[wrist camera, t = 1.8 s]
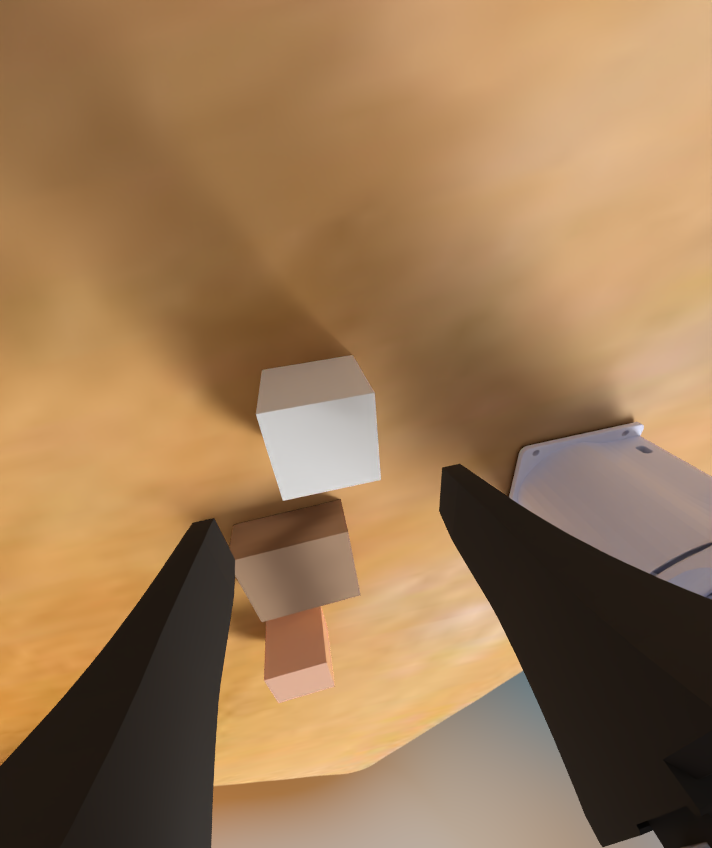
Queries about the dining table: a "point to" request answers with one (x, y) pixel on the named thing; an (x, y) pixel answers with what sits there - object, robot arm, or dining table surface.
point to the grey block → (319, 426)
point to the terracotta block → (298, 655)
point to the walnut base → (295, 560)
